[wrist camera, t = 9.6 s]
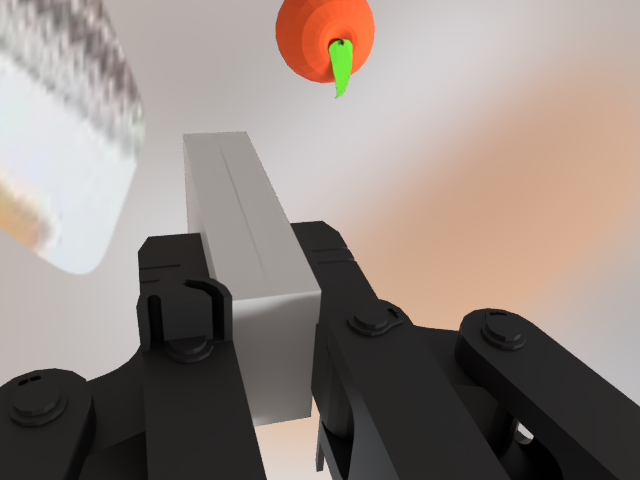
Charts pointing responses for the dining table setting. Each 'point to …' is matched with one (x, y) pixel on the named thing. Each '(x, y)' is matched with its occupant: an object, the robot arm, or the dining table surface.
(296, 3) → the clementine
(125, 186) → the dining table surface
